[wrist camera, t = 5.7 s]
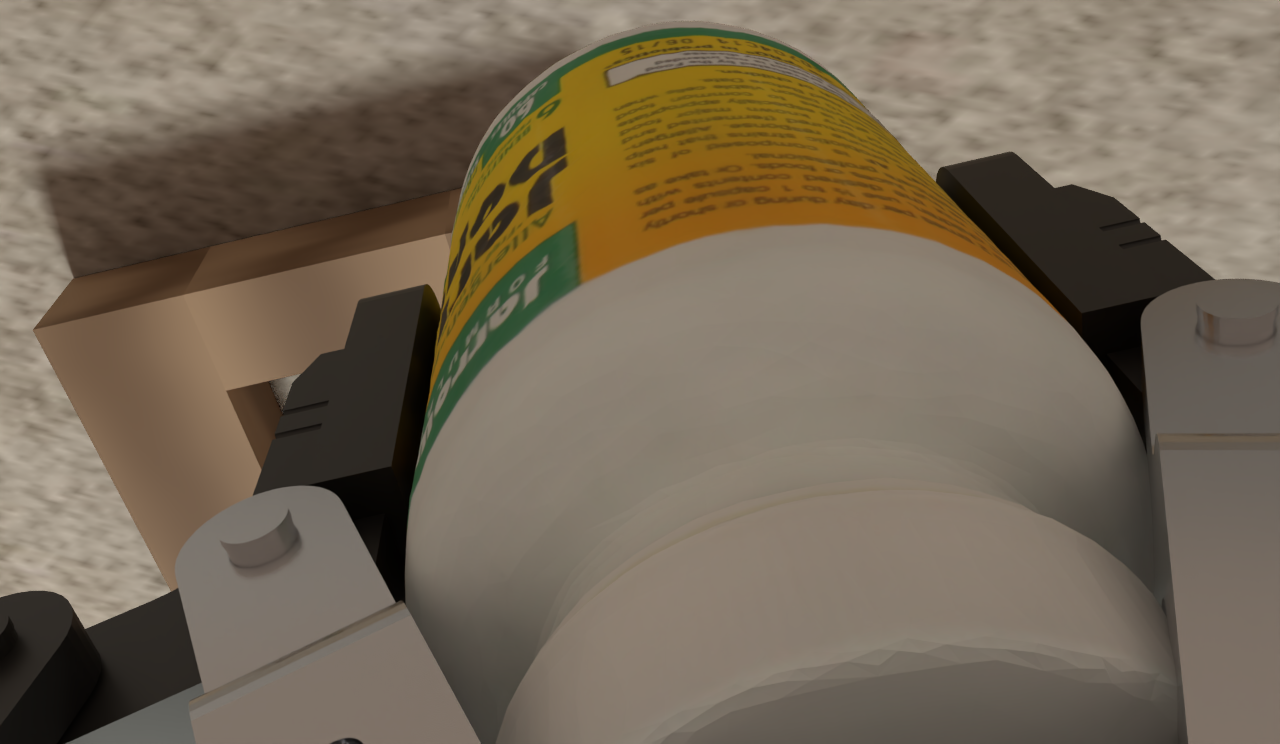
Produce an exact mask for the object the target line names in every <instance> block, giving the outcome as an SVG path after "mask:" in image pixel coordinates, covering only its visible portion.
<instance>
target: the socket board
mask: <svg viewBox="0 0 1280 744" xmlns="http://www.w3.org/2000/svg"><path fill="white" fill-rule="evenodd" d="M461 191H462V188H459V189H455V190H451V191H446V192H442V193H438V194H434V195H429V196H425V197H421V198H416V199H412V200H408V201H404V202H399V203H395V204H391V205H386V206H382V207H378V208H374V209H369V210H365V211H361V212H356V213H352V214H348V215H344V216H339V217H335V218H331V219H327V220H322V221H318V222H314V223H309V224H305V225H301V226H297V227H292V228H288V229H284V230H279V231H275V232H271V233H267V234H262V235H258V236H254V237H249V238H245V239H241V240H237V241H232V242H228V243H224V244H219V245H215V246H211V247H207V248H202V249H198V250H194V251H189V252H185V253H181V254H177V255H172V256H168V257H164V258H159V259H155V260H151V261H147V262H142V263H138V264H134V265H130V266H125V267H121V268H117V269H112V270H108V271H104V272H100V273H95V274H91V275H87V276H82V277H78V278H74V279H73V280H72V281H71V282H70V283H69V285H68V286H67V287H66V288H65V290H64V291H63V292H62V294H61V295H60V296H59V297H58V299H57V300H56V301H55V302H54V304H53V305H52V306H51V308H50V309H49V310H48V311H47V313H46V314H45V315H44V316H43V318H42V319H41V320H40V322H39V323H38V324H37V325H36V327H35V328H34V329H33V331H34V333H35V335H36V337H37V339H38V341H39V343H40V345H41V346H42V348H43V350H44V352H45V354H46V356H47V358H48V360H49V362H50V363H51V365H52V367H53V369H54V371H55V373H56V375H57V377H58V379H59V380H60V382H61V384H62V386H63V388H64V390H65V392H66V394H67V396H68V397H69V399H70V401H71V403H72V405H73V407H74V409H75V411H76V413H77V414H78V416H79V418H80V420H81V422H82V424H83V426H84V428H85V430H86V431H87V433H88V435H89V437H90V439H91V441H92V443H93V445H94V447H95V448H96V450H97V452H98V454H99V456H100V458H101V460H102V462H103V464H104V465H105V467H106V469H107V471H108V473H109V475H110V477H111V479H112V481H113V482H114V484H115V486H116V488H117V490H118V492H119V494H120V496H121V498H122V499H123V501H124V503H125V505H126V507H127V509H128V511H129V513H130V515H131V516H132V518H133V520H134V522H135V524H136V526H137V528H138V530H139V532H140V533H141V535H142V537H143V539H144V541H145V543H146V545H147V547H148V549H149V550H150V552H151V554H152V556H153V558H154V560H155V562H156V564H157V566H158V567H159V569H160V571H161V573H162V575H163V577H164V579H165V581H166V583H167V584H168V586H169V588H170V590H171V591H173V590H175V589H177V588H178V584H177V580H176V576H175V563H176V559H177V556H178V554H179V552H180V550H181V548H182V547H183V546H184V544H185V543H186V541H187V540H188V539H189V538H190V537H191V536H192V535H193V534H194V532H195V531H196V530H197V529H199V528H200V527H201V526H202V525H203V524H204V523H206V522H207V521H208V520H210V519H211V518H212V517H214V516H215V515H217V514H218V513H220V512H221V511H223V510H225V509H227V508H228V507H230V506H232V505H234V504H236V503H238V502H240V501H242V500H244V499H247V498H249V497H252V496H253V493H254V490H255V487H256V484H257V482H258V479H259V476H260V473H261V470H262V468H263V465H264V462H265V459H266V456H267V454H268V451H269V448H270V445H271V442H272V440H274V439H276V437H275V431H276V428H277V425H278V423H279V420H280V417H281V416H283V415H282V413H281V410H280V408H279V405H278V403H277V401H276V398H275V396H274V394H273V391H272V389H271V387H270V384H269V382H268V381H271V380H275V379H279V378H284V377H288V376H292V375H297V374H301V373H303V372H304V371H305V370H306V369H307V368H308V367H309V366H310V365H311V363H312V362H313V361H314V360H315V359H316V358H317V357H318V356H319V355H320V354H323V353H328V352H332V351H336V350H341V349H344V348H345V344H346V341H347V337H348V334H349V331H350V327H351V324H352V320H353V317H354V313H355V310H356V307H357V303H358V301H359V300H360V299H363V298H367V297H372V296H376V295H381V294H385V293H389V292H394V291H398V290H402V289H407V288H411V287H416V286H420V285H424V284H428V285H430V287H431V288H432V290H433V291H434V293H435V295H436V297H437V300H438V302H439V305H440V308H441V306H442V298H443V290H444V281H445V278H446V275H447V268H448V261H449V255H450V249H451V238H452V231H453V227H454V222H455V217H456V213H457V209H458V204H459V199H460V194H461Z"/></svg>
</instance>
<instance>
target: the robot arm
mask: <svg viewBox="0 0 1280 744" xmlns="http://www.w3.org/2000/svg"><path fill="white" fill-rule="evenodd" d="M936 183H937V184H938V185H939V186H940V187H941V188H942V189H943V190H944V192H945V193H946V194H947V195H948V196H949V197H950V198H951V199H952V200H953V201H954V202H955V203H956V205H957V206H958V207H959V208H960V209H961V210H962V211H963V212H964V213H965V214H966V215H967V217H968V218H969V219H970V220H971V221H972V222H974V223H975V224H976V225H977V226H978V227H979V228H980V229H981V230H982V231H983V232H984V233H985V234H986V236H987V237H988V238H989V239H990V240H991V241H992V242H993V243H994V244H995V245H996V247H997V248H998V249H999V250H1000V251H1001V252H1002V253H1003V254H1004V255H1005V256H1006V257H1007V258H1008V259H1009V260H1010V261H1011V262H1012V263H1013V264H1014V265H1015V266H1016V267H1017V269H1018V270H1019V271H1020V272H1021V273H1022V274H1023V275H1024V276H1025V277H1026V278H1027V280H1028V281H1029V282H1030V283H1031V284H1032V285H1033V286H1034V287H1035V288H1036V289H1037V290H1038V291H1039V292H1040V293H1041V294H1042V295H1043V296H1044V297H1045V298H1046V299H1047V300H1048V301H1049V302H1050V303H1051V304H1052V305H1053V307H1054V308H1055V309H1056V310H1057V311H1058V312H1059V313H1060V314H1061V315H1062V316H1063V317H1064V318H1065V319H1066V321H1067V322H1068V323H1069V324H1070V325H1071V326H1072V327H1073V328H1074V329H1075V331H1076V332H1077V333H1078V334H1079V335H1080V337H1081V338H1082V339H1083V340H1084V342H1085V343H1086V344H1087V345H1088V347H1089V348H1090V349H1091V350H1092V351H1093V353H1094V354H1095V355H1096V356H1097V358H1098V359H1099V360H1100V362H1101V363H1102V364H1103V366H1104V367H1105V369H1106V370H1107V371H1108V373H1109V374H1110V376H1111V378H1112V379H1113V381H1114V383H1115V385H1116V386H1117V388H1118V390H1119V391H1120V393H1121V395H1122V397H1123V398H1124V400H1125V402H1126V404H1127V406H1128V408H1129V410H1130V412H1131V414H1132V416H1133V418H1134V421H1135V423H1136V426H1137V428H1138V431H1139V433H1140V436H1141V438H1142V441H1143V444H1144V447H1145V451H1146V454H1147V461H1148V473H1149V485H1150V497H1151V510H1152V528H1153V566H1154V580H1153V596H1154V597H1155V598H1156V600H1157V601H1158V603H1159V605H1160V606H1161V608H1162V610H1163V611H1164V613H1165V615H1166V617H1167V623H1168V634H1169V639H1170V644H1171V649H1172V654H1173V659H1174V665H1175V673H1176V681H1177V735H1178V744H1280V283H1277V282H1271V281H1264V280H1254V279H1220V280H1215V279H1214V278H1212V277H1211V276H1210V275H1209V274H1208V273H1206V272H1205V271H1204V270H1203V269H1201V268H1200V267H1199V266H1198V265H1196V264H1195V263H1194V262H1193V261H1192V260H1190V259H1189V258H1188V257H1187V256H1185V255H1184V254H1183V253H1182V252H1180V251H1179V250H1178V249H1177V248H1176V247H1174V246H1173V245H1172V244H1171V243H1169V242H1168V241H1167V240H1161V236H1160V235H1159V234H1158V233H1157V232H1156V231H1155V230H1153V229H1152V228H1151V227H1150V226H1148V225H1147V224H1146V223H1145V222H1144V223H1140V218H1139V217H1137V216H1136V215H1135V214H1134V213H1132V212H1131V211H1130V210H1129V209H1127V208H1126V207H1125V206H1124V205H1122V204H1121V203H1120V202H1119V201H1118V200H1116V199H1115V198H1114V197H1110V196H1107V195H1104V194H1101V193H1098V192H1095V191H1091V190H1088V189H1085V188H1082V187H1079V186H1076V185H1072V184H1071V185H1067V186H1062V187H1058V188H1054V187H1053V186H1051V185H1050V184H1049V183H1048V182H1047V181H1046V180H1045V179H1044V178H1042V177H1041V176H1040V175H1039V174H1038V173H1037V172H1036V171H1034V170H1033V169H1032V168H1031V167H1030V166H1029V165H1028V164H1027V163H1025V162H1024V161H1023V160H1022V159H1021V158H1020V157H1019V156H1018V155H1016V154H1015V153H1013V152H1006V153H1002V154H998V155H993V156H989V157H984V158H980V159H976V160H971V161H967V162H962V163H958V164H954V165H949V166H945V167H941V168H940V169H939V171H938V173H937V178H936ZM440 315H441V308H440V305H439V302H438V300H437V297H436V295H435V293H434V291H433V290H432V288H431V287H430V285H428V284H424V285H420V286H416V287H411V288H407V289H402V290H398V291H394V292H389V293H385V294H381V295H376V296H372V297H367V298H363V299H360V300H359V301H358V303H357V307H356V310H355V313H354V317H353V320H352V324H351V327H350V331H349V334H348V337H347V341H346V344H345V348H344V349H341V350H336V351H332V352H328V353H323V354H320V355H319V356H318V357H317V358H316V359H315V360H314V361H313V362H312V363H311V365H310V366H309V367H308V368H307V369H306V370H305V371H304V372H303V373H302V374H301V375H300V376H299V377H298V378H297V379H296V380H295V381H294V382H293V383H292V386H291V389H290V392H289V395H288V397H287V400H286V403H285V406H284V409H283V413H284V416H281V417H280V420H279V423H278V425H277V428H276V431H275V437H276V439H274V440H272V442H271V445H270V448H269V451H268V454H267V456H266V459H265V462H264V465H263V468H262V470H261V473H260V476H259V479H258V482H257V484H256V487H255V490H254V493H253V496H252V497H249V498H247V499H244V500H242V501H240V502H238V503H236V504H234V505H232V506H230V507H228V508H227V509H225V510H223V511H221V512H220V513H218V514H217V515H215V516H214V517H212V518H211V519H210V520H208V521H207V522H206V523H204V524H203V525H202V526H201V527H200V528H199V529H197V530H196V531H195V532H194V534H193V535H192V536H191V537H190V538H189V539H188V540H187V541H186V543H185V544H184V546H183V547H182V548H181V550H180V552H179V554H178V556H177V559H176V563H175V576H176V580H177V584H178V588H177V589H175V590H173V591H171V592H170V593H168V594H166V595H164V596H161V597H159V598H157V599H155V600H153V601H151V602H148V603H146V604H144V605H141V606H139V607H136V608H134V609H132V610H129V611H127V612H125V613H122V614H120V615H118V616H115V617H113V618H111V619H108V620H106V621H103V622H101V623H99V624H96V625H94V626H92V627H89V628H87V629H84V627H83V625H82V623H81V622H80V620H79V618H78V617H77V615H76V613H75V611H74V610H73V608H72V606H71V605H70V603H69V601H68V600H67V599H66V598H64V597H63V596H62V595H59V594H57V593H54V592H48V591H28V592H21V593H16V594H12V595H8V596H4V597H1V598H0V744H481V742H480V741H479V739H478V737H477V735H476V733H475V731H474V730H473V728H472V726H471V724H470V722H469V720H468V719H467V717H466V715H465V713H464V711H463V709H462V708H461V706H460V704H459V702H458V700H457V698H456V697H455V695H454V693H453V691H452V689H451V687H450V686H449V684H448V682H447V680H446V678H445V676H444V674H443V673H442V671H441V669H440V667H439V665H438V663H437V662H436V660H435V658H434V656H433V654H432V652H431V651H430V649H429V647H428V645H427V643H426V641H425V640H424V638H423V636H422V634H421V632H420V630H419V629H418V627H417V625H416V623H415V621H414V619H413V618H412V616H411V614H410V612H409V610H408V609H407V607H406V600H405V559H406V537H407V521H408V510H409V500H410V495H411V491H412V486H413V480H414V474H415V469H416V464H417V460H418V455H419V448H420V442H421V437H422V431H423V426H424V420H425V414H426V409H427V403H428V398H429V393H430V383H431V375H432V370H433V364H434V356H435V345H436V338H437V331H438V325H439V322H440Z"/></svg>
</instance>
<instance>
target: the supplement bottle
mask: <svg viewBox="0 0 1280 744" xmlns="http://www.w3.org/2000/svg"><path fill="white" fill-rule="evenodd" d="M1153 580H1154V566H1153V528H1152V510H1151V497H1150V485H1149V473H1148V461H1147V454H1146V451H1145V447H1144V444H1143V441H1142V438H1141V436H1140V433H1139V431H1138V428H1137V426H1136V423H1135V421H1134V418H1133V416H1132V414H1131V412H1130V410H1129V408H1128V406H1127V404H1126V402H1125V400H1124V398H1123V397H1122V395H1121V393H1120V391H1119V390H1118V388H1117V386H1116V385H1115V383H1114V381H1113V379H1112V378H1111V376H1110V374H1109V373H1108V371H1107V370H1106V369H1105V367H1104V366H1103V364H1102V363H1101V362H1100V360H1099V359H1098V358H1097V356H1096V355H1095V354H1094V353H1093V351H1092V350H1091V349H1090V348H1089V347H1088V345H1087V344H1086V343H1085V342H1084V340H1083V339H1082V338H1081V337H1080V335H1079V334H1078V333H1077V332H1076V331H1075V329H1074V328H1073V327H1072V326H1071V325H1070V324H1069V323H1068V322H1067V321H1066V319H1065V318H1064V317H1063V316H1062V315H1061V314H1060V313H1059V312H1058V311H1057V310H1056V309H1055V308H1054V307H1053V305H1052V304H1051V303H1050V302H1049V301H1048V300H1047V299H1046V298H1045V297H1044V296H1043V295H1042V294H1041V293H1040V292H1039V291H1038V290H1037V289H1036V288H1035V287H1034V286H1033V285H1032V284H1031V283H1030V282H1029V281H1028V280H1027V278H1026V277H1025V276H1024V275H1023V274H1022V273H1021V272H1020V271H1019V270H1018V269H1017V267H1016V266H1015V265H1014V264H1013V263H1012V262H1011V261H1010V260H1009V259H1008V258H1007V257H1006V256H1005V255H1004V254H1003V253H1002V252H1001V251H1000V250H999V249H998V248H997V247H996V245H995V244H994V243H993V242H992V241H991V240H990V239H989V238H988V237H987V236H986V234H985V233H984V232H983V231H982V230H981V229H980V228H979V227H978V226H977V225H976V224H975V223H974V222H972V221H971V220H970V219H969V218H968V217H967V215H966V214H965V213H964V212H963V211H962V210H961V209H960V208H959V207H958V206H957V205H956V203H955V202H954V201H953V200H952V199H951V198H950V197H949V196H948V195H947V194H946V193H945V192H944V190H943V189H942V188H941V187H940V186H939V185H938V184H937V183H936V182H935V181H934V180H933V179H932V178H931V177H930V176H929V174H928V173H927V172H926V171H925V170H924V169H923V168H922V167H921V166H920V165H919V164H918V163H917V162H916V161H915V160H914V159H913V158H912V157H911V156H910V155H909V154H908V153H907V151H906V150H905V149H904V148H903V147H902V145H901V144H900V143H899V142H898V141H897V139H896V138H895V137H894V136H893V135H892V134H891V133H890V132H889V131H888V130H887V129H886V128H885V127H884V126H883V125H882V124H881V122H880V121H879V120H878V119H876V118H875V117H874V116H873V115H872V114H871V113H870V112H869V111H868V110H867V109H866V108H865V106H864V105H863V104H862V103H861V102H860V101H859V100H858V99H857V98H856V97H855V96H854V94H853V93H852V92H851V91H850V90H849V89H848V88H847V87H846V86H845V85H844V84H843V83H842V82H841V81H840V80H839V79H838V78H836V77H835V76H834V75H833V74H832V73H830V72H829V71H828V70H827V69H826V68H824V67H823V66H822V65H821V64H820V63H818V62H817V61H815V60H814V59H812V58H811V57H809V56H808V55H806V54H805V53H803V52H802V51H800V50H798V49H796V48H794V47H792V46H790V45H788V44H786V43H784V42H781V41H779V40H777V39H775V38H772V37H769V36H767V35H764V34H761V33H758V32H756V31H753V30H749V29H744V28H740V27H735V26H730V25H725V24H718V23H710V22H702V21H672V22H662V23H656V24H651V25H646V26H642V27H638V28H635V29H631V30H628V31H624V32H621V33H617V34H614V35H611V36H608V37H606V38H604V39H601V40H599V41H597V42H595V43H593V44H590V45H588V46H586V47H584V48H582V49H580V50H578V51H576V52H575V53H573V54H571V55H569V56H567V57H565V58H563V59H562V60H560V61H558V62H557V63H555V64H554V65H552V66H551V67H549V68H548V69H547V70H546V71H544V72H543V73H542V74H540V75H539V76H538V77H537V78H535V79H534V80H533V81H531V82H530V83H529V84H528V85H527V86H526V87H525V88H524V89H523V90H522V91H520V92H519V93H518V94H517V95H516V96H515V97H514V98H513V99H512V100H511V101H510V102H509V103H508V104H507V106H506V107H505V108H504V109H503V110H502V111H501V112H500V113H499V114H498V115H497V117H496V118H495V120H494V121H493V123H492V124H491V126H490V127H489V129H488V130H487V132H486V134H485V135H484V137H483V138H482V140H481V142H480V144H479V146H478V148H477V150H476V152H475V154H474V157H473V159H472V161H471V163H470V166H469V168H468V171H467V174H466V177H465V180H464V184H463V187H462V191H461V194H460V199H459V204H458V209H457V213H456V217H455V222H454V227H453V231H452V238H451V249H450V255H449V261H448V268H447V275H446V278H445V281H444V290H443V298H442V306H441V315H440V322H439V325H438V331H437V338H436V345H435V356H434V364H433V370H432V375H431V383H430V393H429V398H428V403H427V409H426V414H425V420H424V426H423V431H422V437H421V442H420V448H419V455H418V460H417V464H416V469H415V474H414V480H413V486H412V491H411V495H410V500H409V510H408V521H407V537H406V559H405V600H406V607H407V609H408V610H409V612H410V614H411V616H412V618H413V619H414V621H415V623H416V625H417V627H418V629H419V630H420V632H421V634H422V636H423V638H424V640H425V641H426V643H427V645H428V647H429V649H430V651H431V652H432V654H433V656H434V658H435V660H436V662H437V663H438V665H439V667H440V669H441V671H442V673H443V674H444V676H445V678H446V680H447V682H448V684H449V686H450V687H451V689H452V691H453V693H454V695H455V697H456V698H457V700H458V702H459V704H460V706H461V708H462V709H463V711H464V713H465V715H466V717H467V719H468V720H469V722H470V724H471V726H472V728H473V730H474V731H475V733H476V735H477V737H478V739H479V741H480V742H481V744H1178V735H1177V681H1176V673H1175V665H1174V659H1173V654H1172V649H1171V644H1170V639H1169V634H1168V623H1167V617H1166V615H1165V613H1164V611H1163V610H1162V608H1161V606H1160V605H1159V603H1158V601H1157V600H1156V598H1155V597H1154V596H1153Z"/></svg>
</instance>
